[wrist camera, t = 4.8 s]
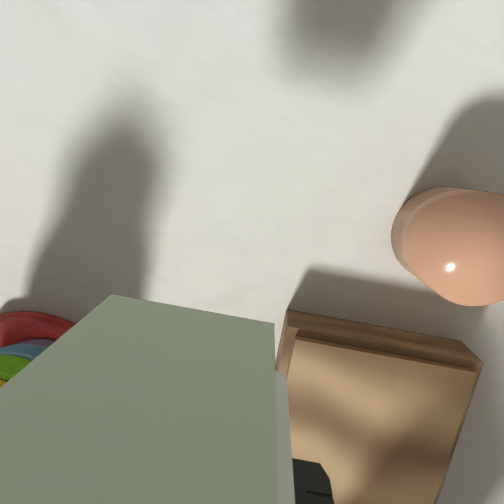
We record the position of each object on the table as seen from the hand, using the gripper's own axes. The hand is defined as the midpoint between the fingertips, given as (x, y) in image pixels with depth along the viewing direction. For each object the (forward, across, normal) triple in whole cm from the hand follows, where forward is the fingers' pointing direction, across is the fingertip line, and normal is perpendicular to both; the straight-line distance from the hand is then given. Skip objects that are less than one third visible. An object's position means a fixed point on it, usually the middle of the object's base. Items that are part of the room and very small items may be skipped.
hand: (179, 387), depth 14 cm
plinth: (+16, +12, -10) cm, 23 cm away
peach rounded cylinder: (+17, +15, +5) cm, 23 cm away
